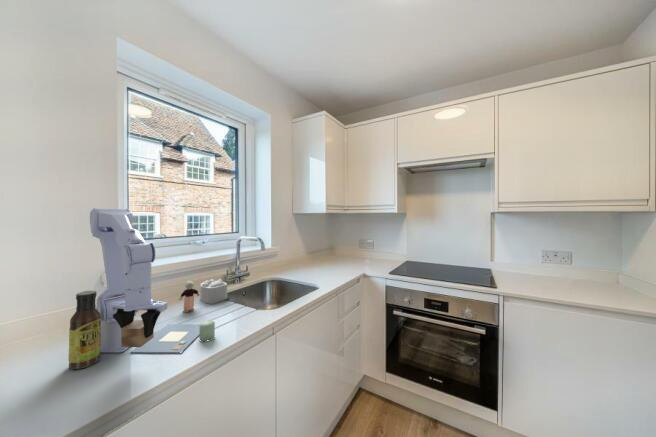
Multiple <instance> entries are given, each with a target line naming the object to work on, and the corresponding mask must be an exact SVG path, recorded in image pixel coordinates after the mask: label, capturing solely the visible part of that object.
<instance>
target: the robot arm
mask: <svg viewBox="0 0 656 437" xmlns="http://www.w3.org/2000/svg"><path fill="white" fill-rule="evenodd" d="M133 221H134V215H133V212H132V210H131V209H130V208H124V209H123V208H121V209H120V208H96V207H93V208H92V209H91V210H90V212H89V224H90V225H89V226H90V232H91V235H92V237H94V238H97V239H98V240H99V242H100V244H101V250H102V258H103V263H104V264H103V268H104V273H105V281H106V289H105V290H104V291H103V292H102V293H100V294H99V295H98V296H97V297H96V299H95V302H96V306H95V307H96V309H97V310H98V311H99V313H100V316H101V317H100V318H101V339H100V353H123V352H125V351H126V350H128V349H129V348H130V347H121V328H123V327H125V326H126V325H128V324H130V323H132V322H133V321H135V317H136V316H137V313H139V311H145V312H143V313H141V315H140V317H141V320H143V324H144V336H145V338H148V337H149V336H151V335H152V334H153V330H154V329H155V325H156V324H157V321H158V319H159V317H160V315H161V313H162V312H164V311H166V310H168V302H167V301H161V300H154V299H152V263H154V261H155V259H156V248H155V245H154V244H153V242H152V241H146V240H145V239H144V238H143V236H142V234H141V233H140V231H139V230H137V229H135V228H133V227H132V225H133ZM154 331H155V330H154Z"/></svg>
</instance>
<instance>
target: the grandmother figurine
mask: <svg viewBox="0 0 656 437" xmlns="http://www.w3.org/2000/svg"><path fill="white" fill-rule="evenodd" d="M184 285H185V288H186V289H184V290H183V291H182V293H181V295H180V296H179V299H178V301H182V300H183V310H182V313H187V312H192V311H195V308H194V305H195V295H196V296H197V297H200V292H199V291H198V290H197V289H194V288H193V287H194V286H195V283H194V282H193V281H191V280H188V281H186V282H185V284H184ZM183 298H184V299H183Z"/></svg>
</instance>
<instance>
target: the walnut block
mask: <svg viewBox="0 0 656 437" xmlns="http://www.w3.org/2000/svg"><path fill="white" fill-rule="evenodd" d="M154 331H155V330H153V334H152V335H151V336H149V337H148V338H145V336H144V324H143V320H142V319H134V321H133V322H132V323H130V324H128V325H126V326H125V327H123V328H121V347H129V348H137V347H141V346H143V345H144V344H145V343H147V342H148V341H150V340H151V339H152V338H154V334H155V332H154Z"/></svg>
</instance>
